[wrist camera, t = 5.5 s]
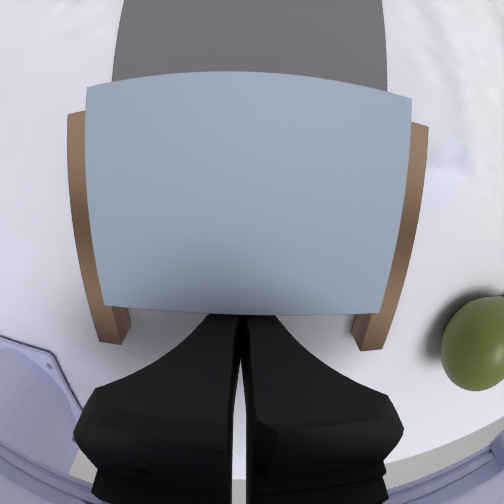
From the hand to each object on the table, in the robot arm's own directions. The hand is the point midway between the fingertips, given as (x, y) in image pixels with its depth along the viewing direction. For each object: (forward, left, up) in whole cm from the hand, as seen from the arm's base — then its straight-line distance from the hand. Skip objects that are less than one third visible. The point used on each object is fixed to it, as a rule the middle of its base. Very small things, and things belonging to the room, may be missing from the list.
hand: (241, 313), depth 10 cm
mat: (+12, 0, -2) cm, 12 cm away
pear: (-3, -16, -2) cm, 16 cm away
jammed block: (+5, 0, -2) cm, 5 cm away
